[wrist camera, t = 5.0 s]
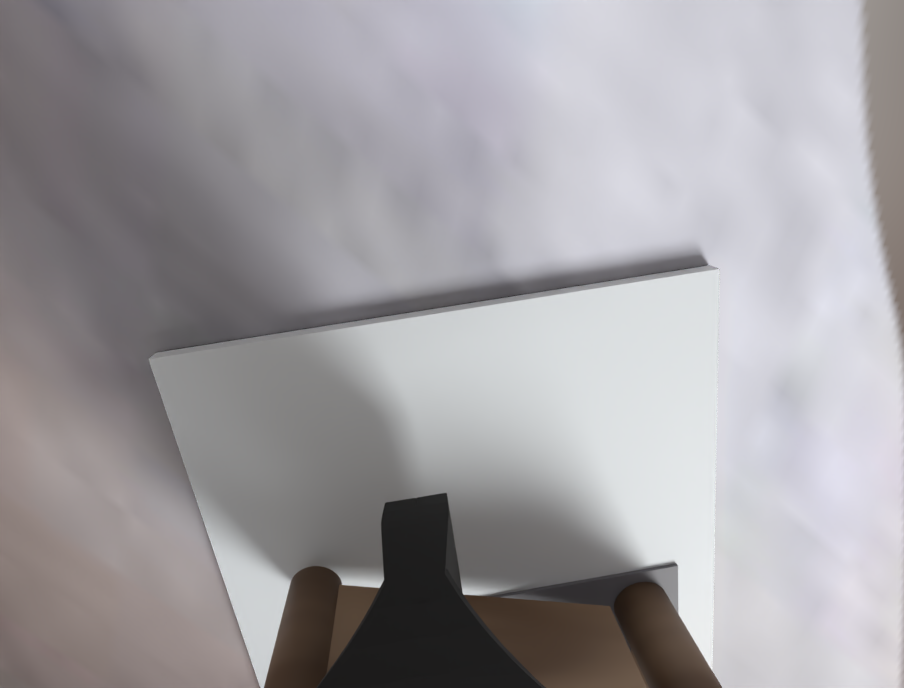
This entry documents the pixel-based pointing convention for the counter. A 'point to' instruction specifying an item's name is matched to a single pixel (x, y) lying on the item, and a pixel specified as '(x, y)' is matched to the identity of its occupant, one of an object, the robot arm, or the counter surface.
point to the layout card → (466, 446)
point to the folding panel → (511, 620)
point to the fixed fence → (661, 640)
